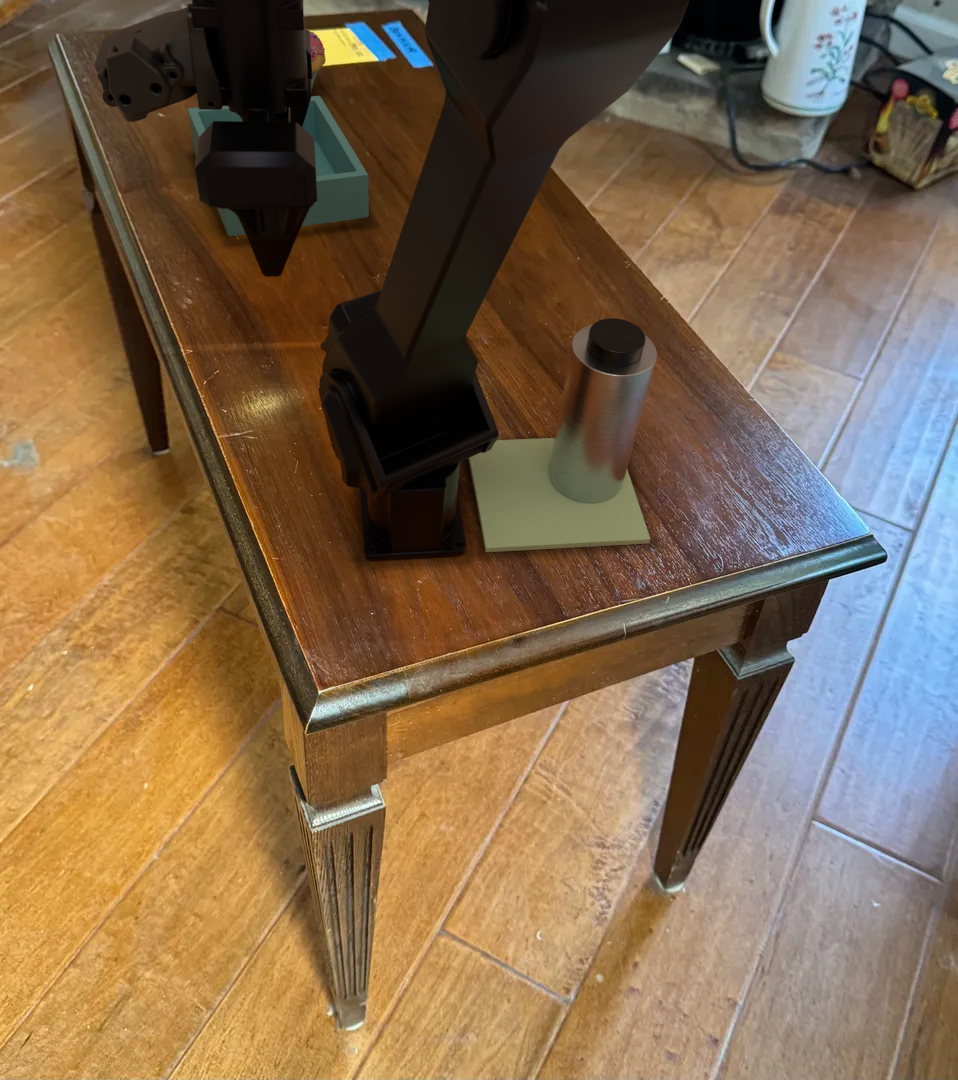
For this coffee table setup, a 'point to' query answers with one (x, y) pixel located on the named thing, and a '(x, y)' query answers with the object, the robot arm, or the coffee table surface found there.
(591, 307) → the coffee table surface
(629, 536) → the placemat
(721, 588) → the coffee table surface
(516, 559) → the coffee table surface
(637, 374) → the bottle
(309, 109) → the teal open box
